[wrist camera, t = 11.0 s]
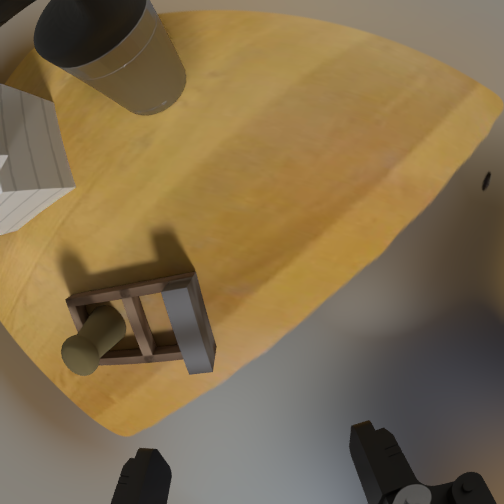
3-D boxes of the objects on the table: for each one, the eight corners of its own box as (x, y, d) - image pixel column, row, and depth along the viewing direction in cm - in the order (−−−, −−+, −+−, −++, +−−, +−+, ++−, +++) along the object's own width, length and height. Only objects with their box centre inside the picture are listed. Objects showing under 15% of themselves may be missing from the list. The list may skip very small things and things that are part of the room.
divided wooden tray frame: (72, 294, 35) (51, 309, 29) (195, 271, 35) (186, 287, 29) (98, 358, 38) (83, 379, 32) (216, 346, 38) (212, 371, 32)
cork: (86, 324, 37) (49, 360, 26) (100, 297, 36) (61, 331, 25) (116, 348, 38) (86, 390, 27) (132, 322, 37) (102, 364, 26)
